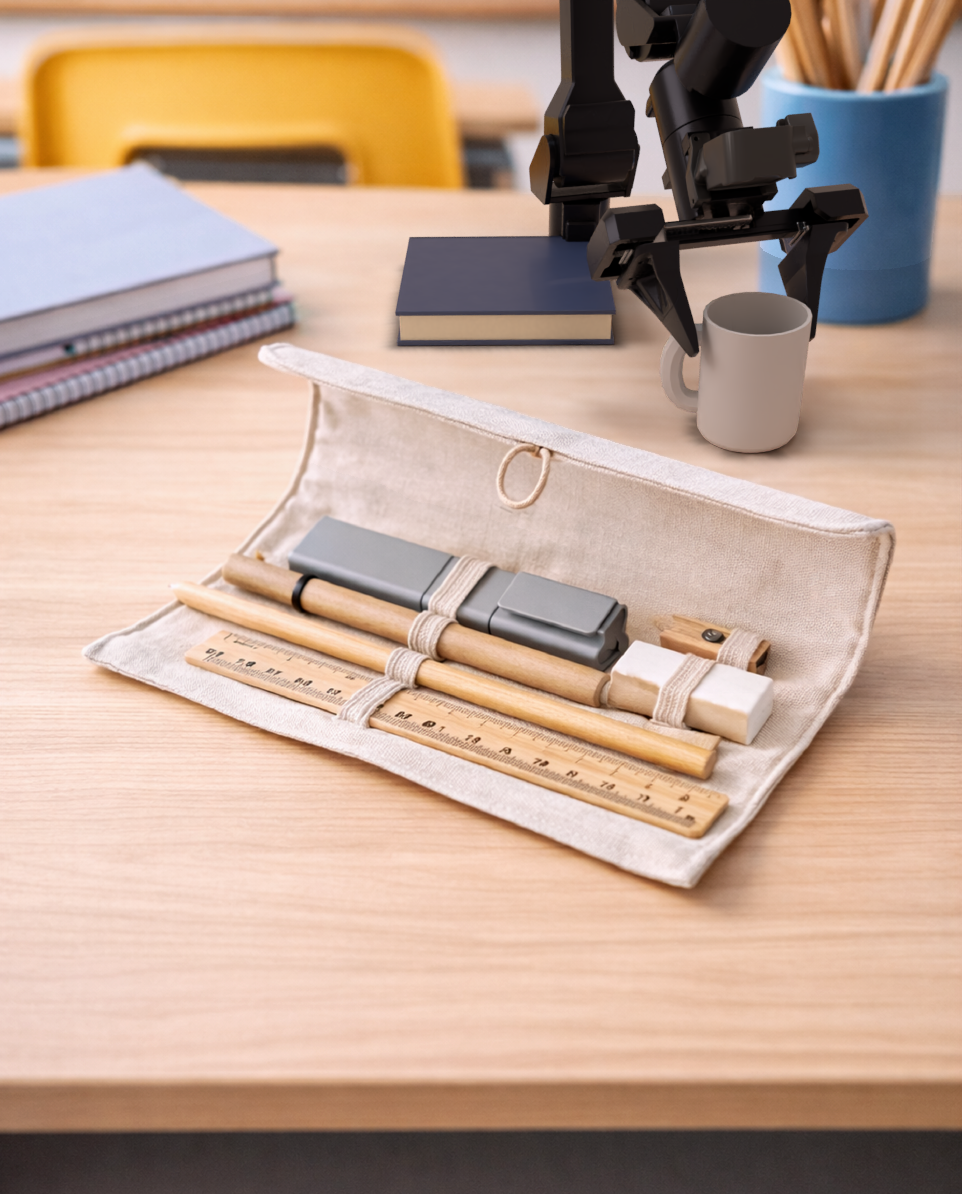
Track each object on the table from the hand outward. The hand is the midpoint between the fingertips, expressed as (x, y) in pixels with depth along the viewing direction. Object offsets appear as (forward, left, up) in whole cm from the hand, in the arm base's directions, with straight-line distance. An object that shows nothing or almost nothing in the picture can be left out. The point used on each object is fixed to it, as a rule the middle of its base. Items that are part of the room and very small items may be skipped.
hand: (752, 347), depth 81 cm
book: (-25, -17, -7) cm, 31 cm away
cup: (-1, -1, -7) cm, 7 cm away
